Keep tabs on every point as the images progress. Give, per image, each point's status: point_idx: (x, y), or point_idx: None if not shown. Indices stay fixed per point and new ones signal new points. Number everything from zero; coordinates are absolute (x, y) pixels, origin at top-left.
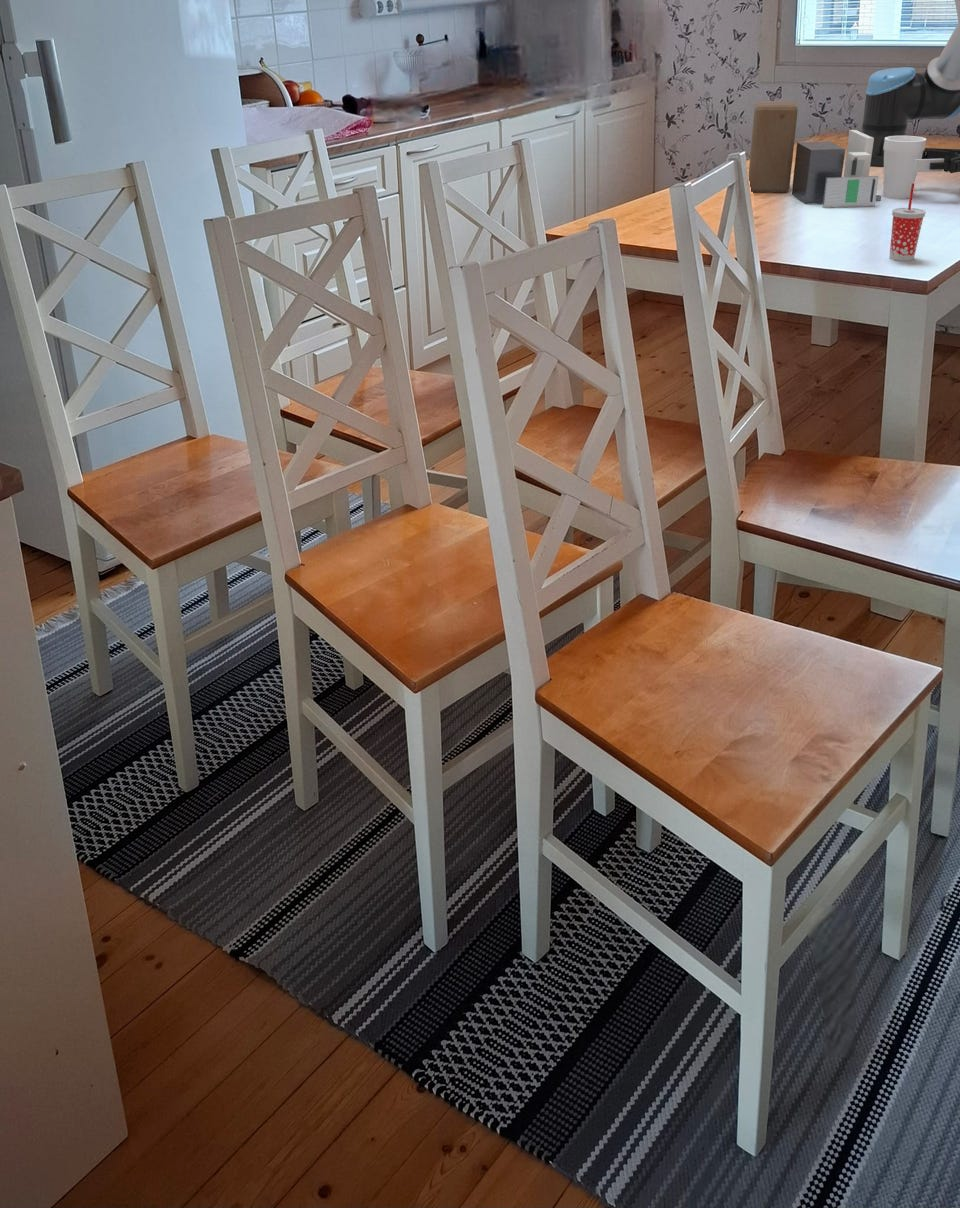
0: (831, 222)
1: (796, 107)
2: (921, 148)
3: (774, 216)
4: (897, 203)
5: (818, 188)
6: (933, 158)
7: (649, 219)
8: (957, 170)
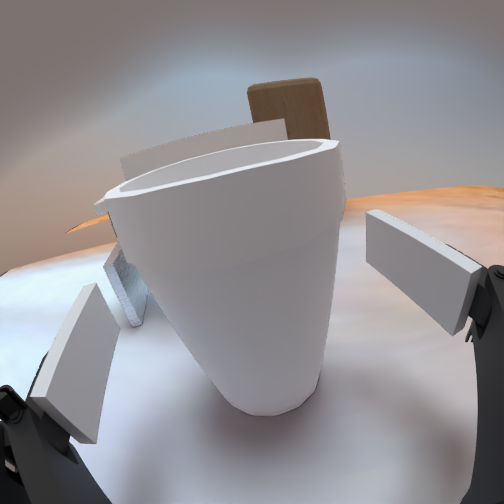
0: (63, 285)
1: (250, 87)
2: (126, 246)
3: None
4: (149, 372)
5: None
6: (486, 378)
7: None
8: (18, 483)
